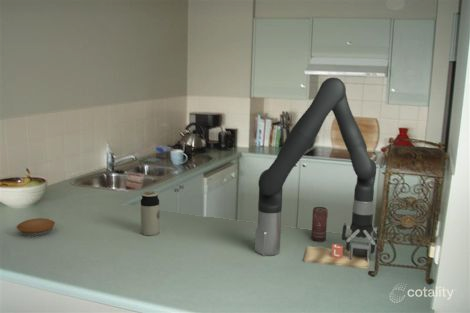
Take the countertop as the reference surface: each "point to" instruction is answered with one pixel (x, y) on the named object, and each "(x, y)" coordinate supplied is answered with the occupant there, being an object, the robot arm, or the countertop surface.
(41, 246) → the countertop surface
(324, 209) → the can
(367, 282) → the countertop surface
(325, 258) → the board
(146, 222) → the travel mug
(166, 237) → the countertop surface
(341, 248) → the letter cube
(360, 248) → the cover
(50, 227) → the pie
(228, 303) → the countertop surface
